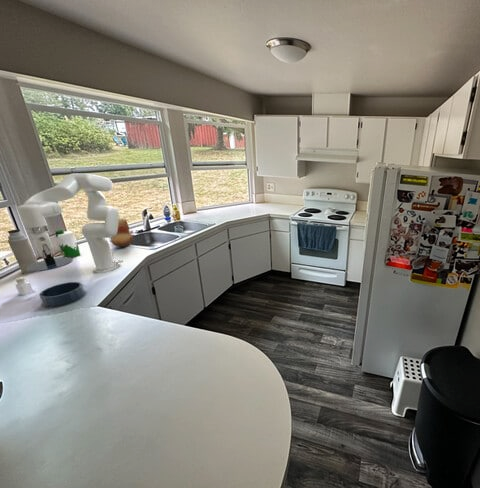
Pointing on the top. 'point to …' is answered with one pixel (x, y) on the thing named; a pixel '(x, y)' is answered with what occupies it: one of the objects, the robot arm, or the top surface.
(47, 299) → the pot
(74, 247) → the milk carton
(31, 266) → the lid
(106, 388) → the top surface
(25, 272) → the thermos bottle
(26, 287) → the pepper shaker
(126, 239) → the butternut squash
